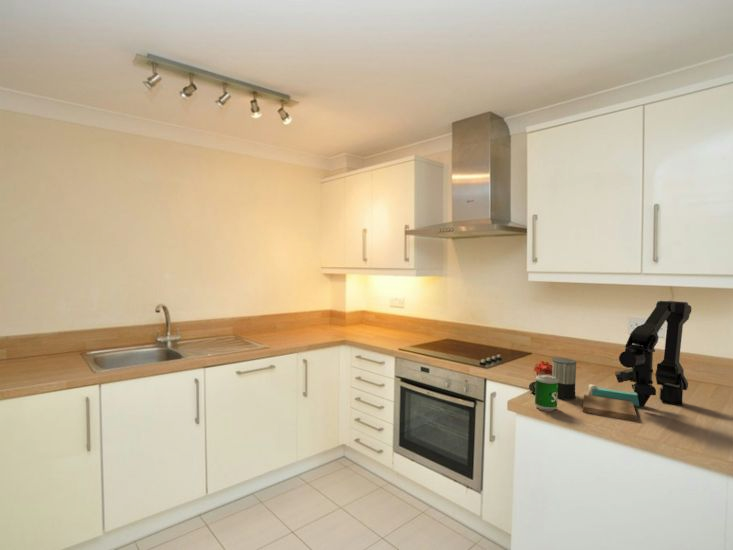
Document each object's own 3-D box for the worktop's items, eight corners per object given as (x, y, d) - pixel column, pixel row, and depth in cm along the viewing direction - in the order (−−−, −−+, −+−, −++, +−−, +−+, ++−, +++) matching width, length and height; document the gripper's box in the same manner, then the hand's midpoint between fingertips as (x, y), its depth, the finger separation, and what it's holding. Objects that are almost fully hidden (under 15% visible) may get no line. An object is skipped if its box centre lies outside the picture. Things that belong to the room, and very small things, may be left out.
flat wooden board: (632, 407, 149) (632, 401, 149) (636, 421, 135) (636, 415, 135) (583, 399, 157) (583, 394, 157) (582, 412, 143) (583, 406, 143)
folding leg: (588, 398, 157) (588, 385, 157) (588, 396, 160) (588, 383, 160) (644, 407, 148) (645, 393, 148) (643, 404, 151) (644, 391, 151)
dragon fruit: (536, 377, 193) (554, 388, 182) (525, 368, 190) (543, 379, 179) (546, 363, 194) (565, 373, 183) (536, 354, 191) (554, 364, 180)
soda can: (546, 413, 141) (547, 379, 141) (530, 406, 148) (531, 374, 148) (561, 410, 144) (562, 377, 144) (545, 403, 151) (545, 372, 151)
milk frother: (581, 400, 156) (582, 362, 156) (544, 401, 154) (545, 363, 154) (558, 388, 170) (559, 354, 170) (524, 390, 168) (525, 355, 168)
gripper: (615, 356, 157) (613, 396, 157) (618, 367, 140) (616, 410, 141) (649, 360, 151) (648, 401, 152) (656, 371, 135) (655, 417, 135)
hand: (641, 407), depth 145 cm, fingers closed
